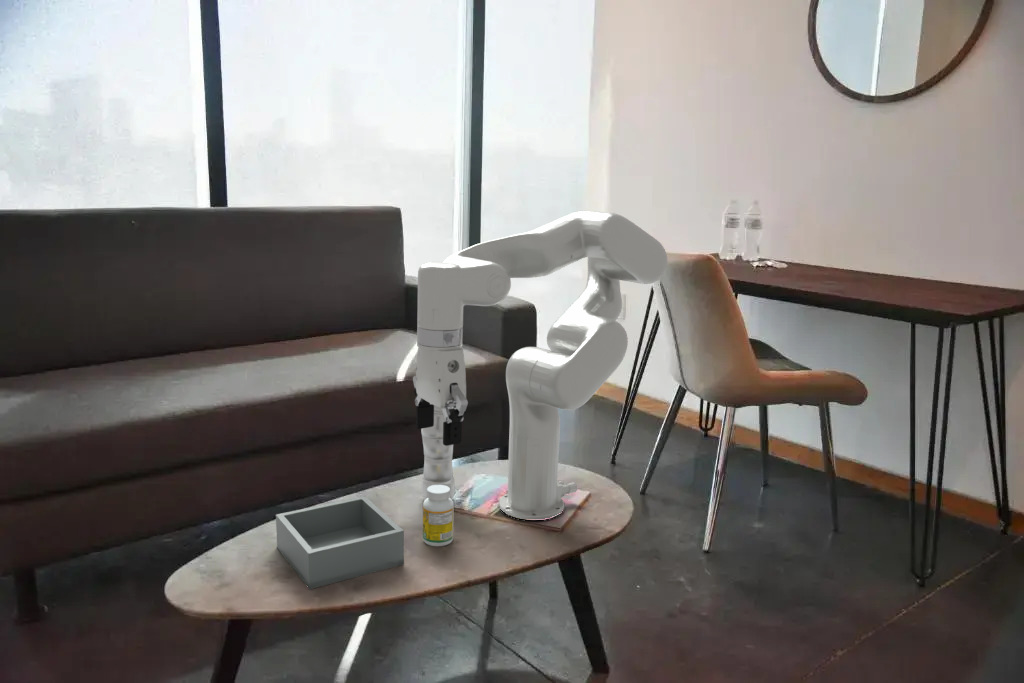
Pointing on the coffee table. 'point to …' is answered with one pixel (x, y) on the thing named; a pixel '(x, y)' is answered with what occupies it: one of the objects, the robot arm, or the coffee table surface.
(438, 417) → the plastic bottle
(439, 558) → the coffee table surface
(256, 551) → the coffee table surface
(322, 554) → the tote
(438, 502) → the supplement bottle
